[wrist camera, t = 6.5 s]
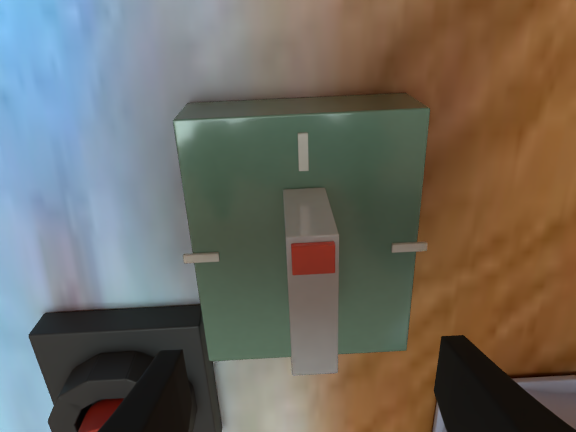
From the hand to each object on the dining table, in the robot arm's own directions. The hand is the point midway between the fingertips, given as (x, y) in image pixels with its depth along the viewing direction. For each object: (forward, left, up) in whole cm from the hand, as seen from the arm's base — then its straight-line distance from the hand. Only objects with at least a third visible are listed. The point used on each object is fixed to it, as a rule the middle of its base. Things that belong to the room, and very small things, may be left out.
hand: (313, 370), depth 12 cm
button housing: (+9, +9, -9) cm, 15 cm away
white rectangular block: (0, 0, -6) cm, 6 cm away
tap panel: (0, 0, -9) cm, 9 cm away
